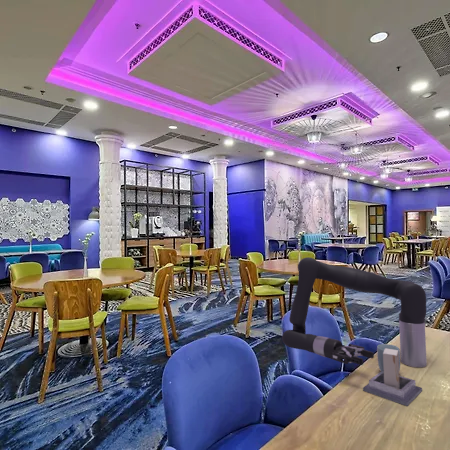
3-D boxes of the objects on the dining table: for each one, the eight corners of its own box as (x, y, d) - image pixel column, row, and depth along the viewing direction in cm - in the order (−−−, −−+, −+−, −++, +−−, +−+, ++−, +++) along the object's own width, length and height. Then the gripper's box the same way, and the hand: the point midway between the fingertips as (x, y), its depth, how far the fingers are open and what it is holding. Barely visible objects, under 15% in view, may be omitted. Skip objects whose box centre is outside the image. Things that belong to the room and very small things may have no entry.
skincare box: (398, 393, 106) (397, 355, 106) (384, 389, 108) (382, 353, 109) (400, 385, 111) (398, 349, 112) (386, 382, 114) (384, 347, 114)
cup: (403, 378, 118) (402, 351, 118) (381, 377, 120) (380, 350, 120) (397, 370, 126) (395, 344, 126) (375, 368, 127) (374, 343, 128)
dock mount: (380, 377, 119) (379, 368, 120) (422, 390, 109) (421, 380, 109) (363, 390, 110) (362, 380, 110) (407, 406, 100) (406, 394, 100)
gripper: (317, 342, 123) (359, 353, 111) (336, 334, 133) (376, 343, 121) (318, 362, 123) (359, 375, 111) (336, 352, 132) (377, 363, 120)
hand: (368, 358), depth 116 cm, fingers open, 8 cm apart
